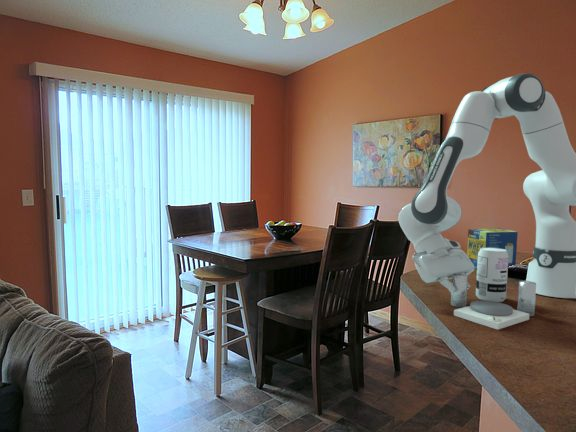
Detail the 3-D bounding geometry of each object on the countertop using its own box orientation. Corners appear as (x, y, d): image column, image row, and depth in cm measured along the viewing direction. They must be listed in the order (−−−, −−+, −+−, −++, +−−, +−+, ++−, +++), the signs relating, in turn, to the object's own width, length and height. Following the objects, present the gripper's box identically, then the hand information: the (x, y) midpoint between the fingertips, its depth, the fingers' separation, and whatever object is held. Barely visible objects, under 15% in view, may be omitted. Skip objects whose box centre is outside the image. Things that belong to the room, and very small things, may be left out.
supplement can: (479, 293, 130) (482, 246, 129) (508, 298, 125) (511, 249, 124) (472, 299, 124) (474, 249, 123) (502, 304, 119) (505, 252, 118)
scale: (485, 307, 117) (485, 298, 116) (529, 319, 106) (529, 309, 106) (453, 315, 109) (454, 306, 109) (497, 329, 99) (498, 319, 99)
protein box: (465, 266, 172) (467, 228, 171) (496, 264, 176) (498, 228, 175) (483, 271, 162) (486, 232, 161) (516, 269, 166) (518, 231, 165)
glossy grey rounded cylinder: (456, 302, 121) (458, 273, 120) (469, 305, 118) (470, 276, 117) (447, 304, 119) (449, 275, 118) (460, 308, 115) (461, 278, 115)
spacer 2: (522, 310, 114) (524, 280, 113) (537, 314, 111) (539, 283, 110) (514, 312, 112) (515, 281, 111) (529, 317, 108) (531, 285, 108)
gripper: (416, 247, 117) (444, 289, 110) (461, 241, 128) (490, 279, 120) (403, 260, 121) (429, 301, 114) (448, 253, 132) (475, 291, 125)
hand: (461, 290), depth 117 cm, fingers open, 4 cm apart
